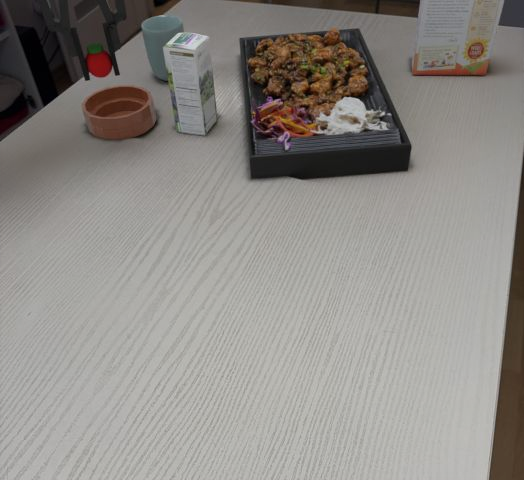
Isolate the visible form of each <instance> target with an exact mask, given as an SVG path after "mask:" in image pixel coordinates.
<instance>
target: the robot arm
mask: <svg viewBox="0 0 524 480" xmlns="http://www.w3.org/2000/svg"><path fill="white" fill-rule="evenodd" d="M57 1H58V10H59V18H56V17H55V15H54V12H53V9H52V6H51V3H50V0H37V3H38V5H39V8H40V11H41V13H42V14H41V15H42V16H43V19H44V22H45V24H46V27H47V29H48V31H50V32H53V33H54V32H57V33H61V34H62V35H63V38H64V41H65V45H66V48H67V51H68V54H69V56H70V57H71V58H75V57H77V58H78V61H79V65H80V68H81V71H82V75H83V78H84V81H85V82H87V81H91V77H90V72H89V71H88V69H87V66H86V62H85V58H86V56H85V54H84V51H83V46H82V43H81V40H80V37H79V33H78V29H77V27H76V26H75V27H71V20H70V12H69V11H70V10H69V3H68V0H57ZM96 1H97V4H98V6H99V9H100V10H101V13H102V16H103V17H104V20H105V22H101V23H102V24H101V25H102V29H103V33H104V36H105V41H106V45H107V48H108V54H109V55H110V57H111V61H112V65H113V66H112V70H113V72H114V77H118V76H121V73H120V68H119V65H118V60H117V57H116V52H115V51H117V50H121V49H122V45H121V40H120V35H119V32H118V24H119V23H120V22H122V21H123V22H124V21H126V20H127V18H128V13H127V9H126V3H125V0H114V3H115V9H114V10H112V8H111V6H110V4H109V2H108V0H96Z"/></svg>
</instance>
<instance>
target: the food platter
mask: <svg viewBox="0 0 524 480" xmlns="http://www.w3.org/2000/svg"><path fill="white" fill-rule="evenodd" d="M366 42H367V41H366V40H365V38H364V36H363V34H362V32H361V29H360V28H359V27H357V28H345V29H338V28H335V27H332V28H331V29H330V30H319V31H307V32H296V33H295V32H294V33H293V32H292V33H282V34H281V33H280V34H270V35H269V34H268V35H259V36H246V37H245V36H244V37H239V52H240V53H239V55H240V64H241V65H240V66H241V78H242V88H243V89H242V90H243V101H244V111H245V113H244V114H245V123H246V137H247V147H248V148H247V149H248V159H249V160H248V161H249V167H250V168H249V169H250V179H251V180H255V179H256V180H257V179H268V178H269V179H270V178H281V177H289V178H292V179H297V180H309V179H310V180H311V179H312V180H313V179H324V178H337V177H348V176H360V175H372V174H373V175H374V174H375V175H376V174H385V173H398V172H408V171H409V165H410V159H411V155H412V148H413V146H412V142H411V141H410V138H409V136H408V134H407V131H406V129H405V127H404V125H403V123H402V121H401V119H400V116H399V114H398V111H397V109H396V108H395V107H396V106H395V105H394V103H393V100H392V98H391V96H390V94H389V91H388V89H387V87H386V85H385V83H384V81H383V78H382V77H381V73H380V71H379V68H378V67H377V65H376V63H375V60H374V58H373V56H372V54H371V51H370V49H369V48H368V45H367V43H366Z"/></svg>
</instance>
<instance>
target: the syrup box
mask: <svg viewBox="0 0 524 480" xmlns="http://www.w3.org/2000/svg"><path fill="white" fill-rule="evenodd" d="M163 52H164V58H165V64H166V70H167V76H168V81H167V82H168V88H169V94H170V100H171V105H172V111H173V118H174V123H175V130H176V132H177V133H181V134H182V133H183V134H188V135H195V136H196V135H198V136H207V134H208V133H209V132H210V131H211V129H213V127H214V126H215V124H216V123H217V121H218V111H217V100H216V91H215V82H214V81H215V80H214V72H213V70H214V69H213V61H212V53H211V42H210V37H209V36H208V35H204V34H200V33H195V32H184V33H178V34H177V35H175V36H174V37H173V38H172V39H171V40H170V41H169V42H168V43H167V44H166V45H165V46H164V47H163Z"/></svg>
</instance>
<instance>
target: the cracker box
mask: <svg viewBox="0 0 524 480" xmlns="http://www.w3.org/2000/svg"><path fill="white" fill-rule="evenodd" d="M504 4H505V0H419V7H418V15H417V22H416V29H415V34H414V41H413V47H412V48H413V49H412V55H411V56H412V57H411V63H410V64H411V74H412V75H413V76H486V75H487V71H488V67H489V63H490V60H491V57H492V52H493V47H494V45H495V44H494V43H495V39H496V36H497V32H498V29H499V28H498V27H499V24H500V19H501V16H502V12H503V8H504Z"/></svg>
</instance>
